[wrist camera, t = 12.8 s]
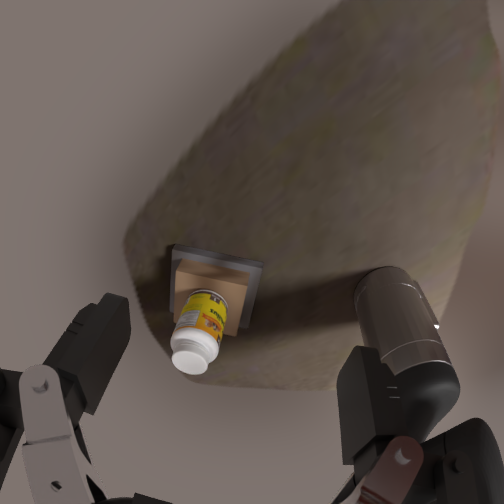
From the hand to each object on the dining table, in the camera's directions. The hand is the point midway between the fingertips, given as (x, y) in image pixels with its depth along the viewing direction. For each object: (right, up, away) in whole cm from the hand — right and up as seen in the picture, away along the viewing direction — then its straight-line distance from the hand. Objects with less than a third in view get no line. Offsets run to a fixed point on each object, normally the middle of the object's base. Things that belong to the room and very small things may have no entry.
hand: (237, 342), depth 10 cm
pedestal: (-5, -2, +34) cm, 34 cm away
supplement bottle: (-5, -4, +30) cm, 31 cm away
